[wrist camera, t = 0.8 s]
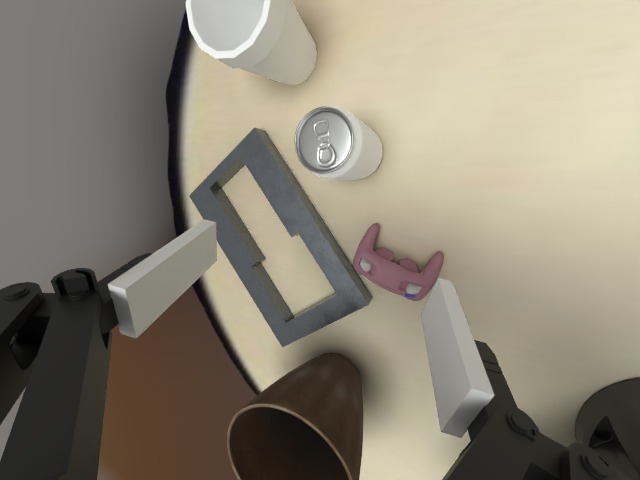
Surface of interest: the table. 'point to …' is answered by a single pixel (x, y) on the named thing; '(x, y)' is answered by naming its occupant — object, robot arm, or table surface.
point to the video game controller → (395, 269)
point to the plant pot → (302, 425)
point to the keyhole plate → (297, 221)
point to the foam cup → (255, 37)
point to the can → (337, 144)
